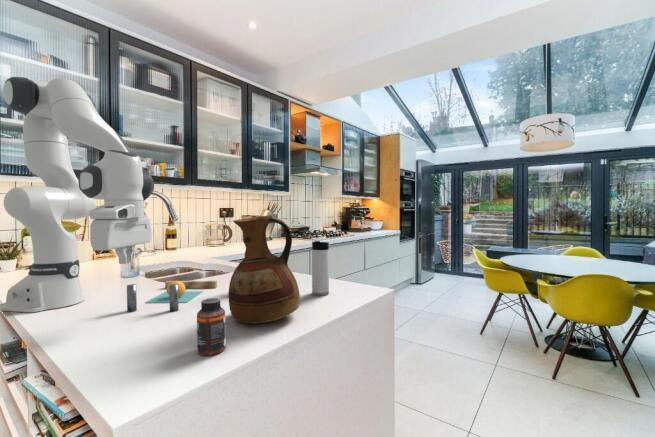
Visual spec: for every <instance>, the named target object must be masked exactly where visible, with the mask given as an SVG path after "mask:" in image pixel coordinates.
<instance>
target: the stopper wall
mask: <svg viewBox="0 0 655 437" xmlns="http://www.w3.org/2000/svg"><path fill="white" fill-rule="evenodd" d="M173 281H174V280H167V281H165V282H164V289H167V287H168V285H169V284H170V283H171V282H173ZM179 281H180V282H182V283H183V284H184V285H185V289H217V288H218V280H179Z"/></svg>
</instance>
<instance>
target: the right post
mask: <svg viewBox="0 0 655 437" xmlns="http://www.w3.org/2000/svg"><path fill="white" fill-rule="evenodd" d="M169 300H170V303H169V312H171V313H174V312H179V310H180V309H179V304H180V303H178V284H171V285H169Z"/></svg>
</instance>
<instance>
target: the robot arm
mask: <svg viewBox="0 0 655 437" xmlns="http://www.w3.org/2000/svg"><path fill="white" fill-rule="evenodd" d="M2 98H3V99H4V103H5V104H6V106H7V107H8V108H9V109H11V111H13V112H16V113H19V114H24V115H25V116H24V118H23V125H22V126H23V128H22V138H23V139H22V140H23V147H24V154H25V155H24V157H25V164H26V167H27V169H28V171H29V172H30V173H32V174H33V175H35V176H36V177H39V179H41V180H42V182H43V183H44V185H43V186H42V185H25V186H24V185H23V186H17V187H12V188H10V189H9V190H8V191H7V192H6V194H5V196H4V197H3V207H4V210H5V212H6V213H7V214H8V215H9V216H10V217H12V218H13V219H15V220H16V221H18V222H19V223H21V224H22V226H24V228H25V229H26V231H27V232H28V234H29V236H30V240H31V243H32V256H33V257H32V258H33V263H31V265H24V267H25V268H24V270H28V273H27V275H26V276H24V277H23V278H22V279H21V280H19V281H18V282H16V283H15V284H14V285H12V286H10V287H9V289H8V290H7V293H6V297H5V302H3V303H1V304H0V311H1V312H3V311H5V312H21V313H36V312H42V311H47V310H53V309H59V308H60V309H61V308H63V307H64V308H65V307H68V306H72V305H76V304H80V303H82V302H84V301H85V297H84V295H83V291H82V287H81V282H80V275H79V274H80V259H78V239H77V237H76V235H74V234H73V233H71V232H69V231H67V230H66V229H65V228H64V226H63V224H62V220H63V221H64V220H67V221H68V220H78V219H83V218H88V217H89V218H90V219H91V220H92V221H91V222H90V227H89V232H90V233H89V236H90V238H89V241H90V246H91V248H92V249H93V250H94V251H111V250H114V251H115V254H116V256H117V257H118V264H119V265H127V264H129V263H132V262H133V256H134V253H135V250H136V245H141V244H142V245H143V244H147V243H148V244H149V243H150V242H151V241H152V239H153V235H152V234H153V233H152V224H151V220H150V219H149V216H148V215H147V214H146V212H145V209H144V208H145V206H144V202H145V201H146V200H147V199H149V198H150V197H151V195H152V194H153V192H154V189H155V182H154V179H153V176H152V175H151V174H150V173H149V171H148V170H146V168H144V167H143V165H142V160H141V157H140V156H139V155H138V154H136V153H135V152H132V151H131V149H130V148H129V146H128V145H127V143H126V142H125V140H124V139H123V137H122V136H121V135H120V134H119V133H118V132H117V131H116V130H115V129H114V128H112V127H111V125H109V124H108V123H107V121H105V120H104V119H103V118H102V116H100V114H99V113H98V111H97V109H96V107H95V103H94V100H93V98H92V97H91V95H90V94H88V93H87V92H86V91H85V89H83V87H82V86H81V85H80V84H78V82H76V81H74V80H71V79H69V78H64V77H62V78H61V77H59V78H54V79H51V80H50V81H48V82H47V81H42V80H37V79H36V80H35V79H30V78H28V77H24V76H23V77H22V76H11V77H9V78H7V79H6V80H5V81H4V85H3V86H2ZM68 139H70V140H72V141H75V142H77V143H80V144H83V145H86V146H90V147H92V148H94V149H97V150H100V151H102V152H103V153H104V156H103V158H102V159H101V160H99V161H97V162H96V163H94V164H88V165H87V166H85V167H83V169H82V170H80V171H79V174H78V178H77V176H76V173H75V171H74V169H73V166H72V161H71V154H70V148H69V141H68ZM97 200H103V204H101V205H100V206H98V207H97Z"/></svg>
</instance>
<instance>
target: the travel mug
mask: <svg viewBox="0 0 655 437" xmlns="http://www.w3.org/2000/svg"><path fill="white" fill-rule="evenodd" d="M329 243H330V242H328V241H320V240H314V241H311V294H312V295H313V296H317V297H325V296H327V295H329V294H330V249H329V246H330V245H329Z"/></svg>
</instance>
